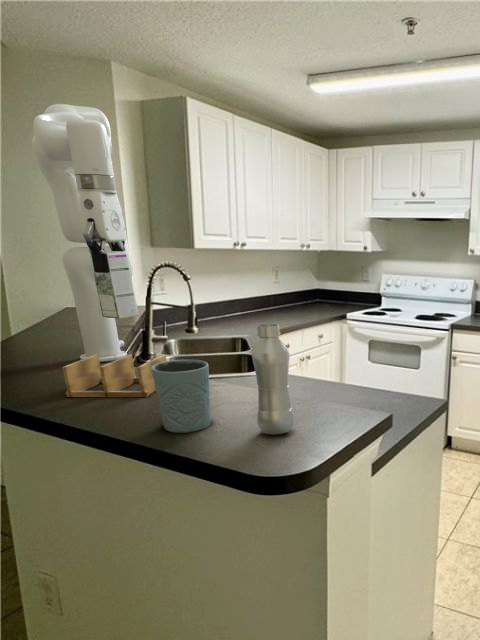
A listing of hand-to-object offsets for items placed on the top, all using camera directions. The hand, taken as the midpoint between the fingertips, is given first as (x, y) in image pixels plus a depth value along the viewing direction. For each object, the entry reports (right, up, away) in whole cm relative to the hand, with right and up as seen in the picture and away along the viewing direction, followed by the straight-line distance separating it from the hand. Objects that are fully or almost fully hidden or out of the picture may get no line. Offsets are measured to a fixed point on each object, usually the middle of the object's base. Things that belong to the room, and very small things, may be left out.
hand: (111, 270), depth 124 cm
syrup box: (0, -10, +4) cm, 11 cm away
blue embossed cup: (+24, -36, -17) cm, 47 cm away
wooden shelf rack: (-2, -26, +8) cm, 27 cm away
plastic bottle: (+42, -37, -21) cm, 60 cm away
